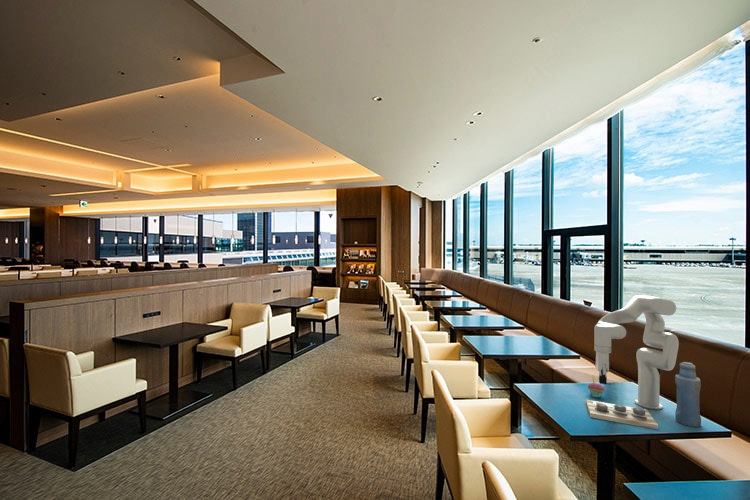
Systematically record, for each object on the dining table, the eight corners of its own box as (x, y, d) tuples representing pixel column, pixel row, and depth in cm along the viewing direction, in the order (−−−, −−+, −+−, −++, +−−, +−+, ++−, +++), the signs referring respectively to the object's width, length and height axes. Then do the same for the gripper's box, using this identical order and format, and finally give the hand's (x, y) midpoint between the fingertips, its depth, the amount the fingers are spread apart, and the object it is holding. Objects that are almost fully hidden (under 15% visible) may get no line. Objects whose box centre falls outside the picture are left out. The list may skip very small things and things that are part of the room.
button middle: (613, 407, 187) (613, 403, 187) (625, 409, 185) (625, 405, 185) (615, 411, 183) (615, 407, 183) (627, 413, 181) (627, 409, 181)
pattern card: (592, 401, 199) (592, 400, 199) (640, 409, 190) (640, 408, 190) (593, 404, 195) (593, 404, 195) (642, 413, 185) (642, 412, 185)
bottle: (703, 429, 173) (704, 367, 174) (677, 424, 178) (677, 363, 179) (697, 421, 181) (698, 362, 182) (672, 417, 186) (673, 359, 187)
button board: (585, 403, 202) (585, 399, 202) (646, 413, 190) (646, 409, 190) (590, 417, 183) (590, 412, 184) (657, 429, 172) (657, 424, 172)
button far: (595, 406, 191) (595, 402, 191) (606, 408, 189) (606, 404, 189) (597, 410, 186) (597, 406, 186) (608, 412, 184) (608, 408, 184)
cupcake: (587, 396, 212) (587, 375, 212) (588, 392, 219) (588, 372, 219) (604, 399, 207) (604, 379, 208) (604, 395, 214) (605, 375, 215)
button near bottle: (632, 410, 184) (632, 406, 184) (643, 412, 182) (643, 408, 182) (634, 414, 179) (634, 410, 180) (646, 416, 177) (646, 412, 177)
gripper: (592, 344, 196) (592, 378, 196) (596, 351, 183) (596, 387, 183) (608, 346, 193) (608, 380, 193) (613, 352, 180) (614, 389, 179)
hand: (602, 383), depth 188 cm, fingers closed
